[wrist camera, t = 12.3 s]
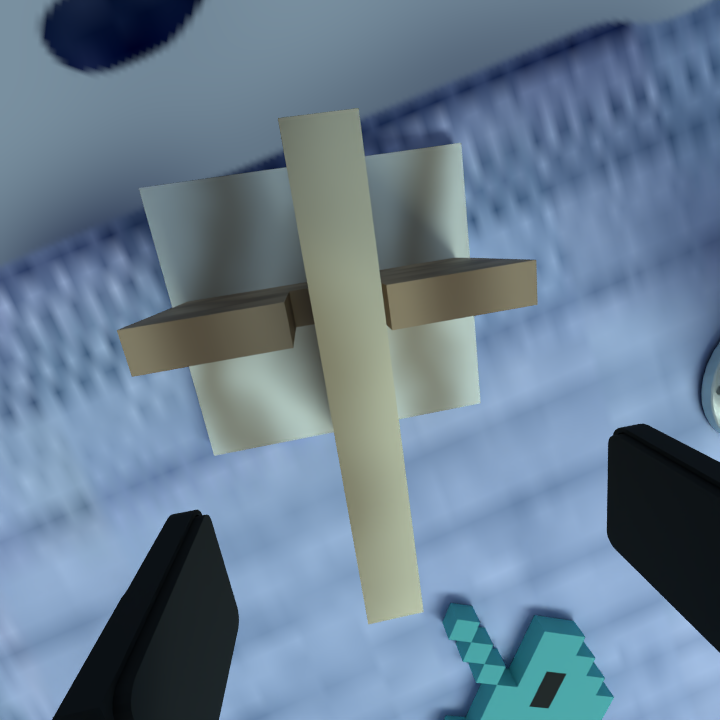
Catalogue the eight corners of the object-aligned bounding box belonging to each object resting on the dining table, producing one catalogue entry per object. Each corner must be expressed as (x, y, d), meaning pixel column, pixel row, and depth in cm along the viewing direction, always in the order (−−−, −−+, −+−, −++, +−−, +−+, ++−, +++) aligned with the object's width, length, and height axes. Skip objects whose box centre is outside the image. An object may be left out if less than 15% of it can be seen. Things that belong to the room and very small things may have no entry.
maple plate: (329, 195, 25) (358, 107, 10) (364, 425, 30) (423, 612, 14) (297, 200, 25) (277, 118, 10) (338, 430, 29) (368, 624, 14)
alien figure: (383, 755, 41) (549, 766, 45) (387, 782, 39) (561, 791, 43) (448, 598, 37) (625, 624, 41) (457, 619, 35) (643, 645, 39)
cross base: (454, 147, 27) (554, 76, 16) (474, 397, 32) (560, 472, 21) (146, 190, 25) (25, 143, 14) (217, 447, 30) (168, 557, 19)
